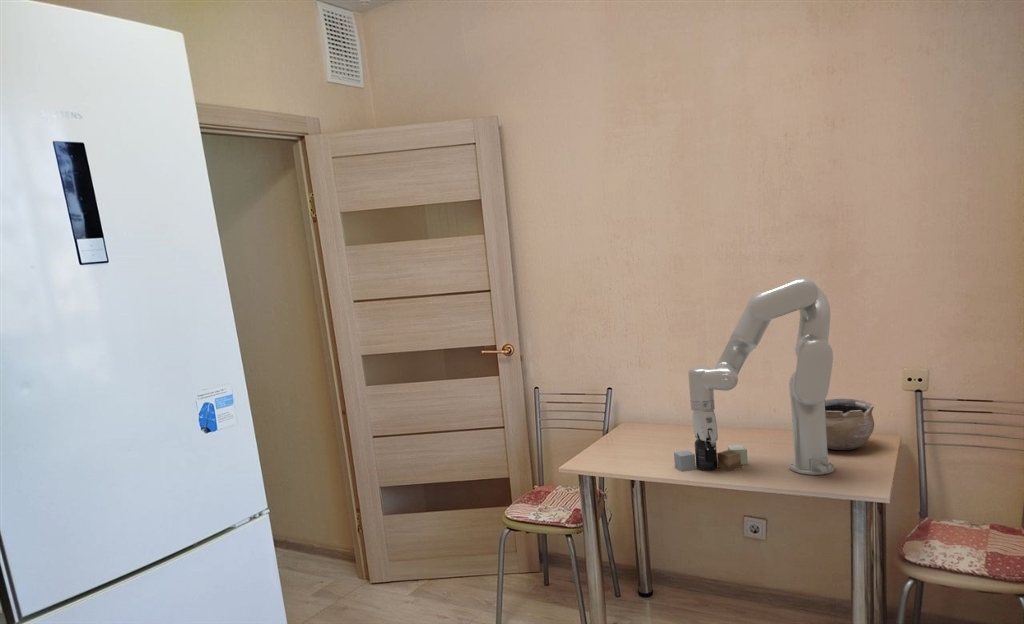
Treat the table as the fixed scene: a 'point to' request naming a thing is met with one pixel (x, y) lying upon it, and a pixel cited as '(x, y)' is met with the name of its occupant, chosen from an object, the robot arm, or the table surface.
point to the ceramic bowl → (848, 423)
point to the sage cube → (741, 450)
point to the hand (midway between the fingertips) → (706, 458)
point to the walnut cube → (729, 460)
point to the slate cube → (684, 460)
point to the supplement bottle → (703, 456)
